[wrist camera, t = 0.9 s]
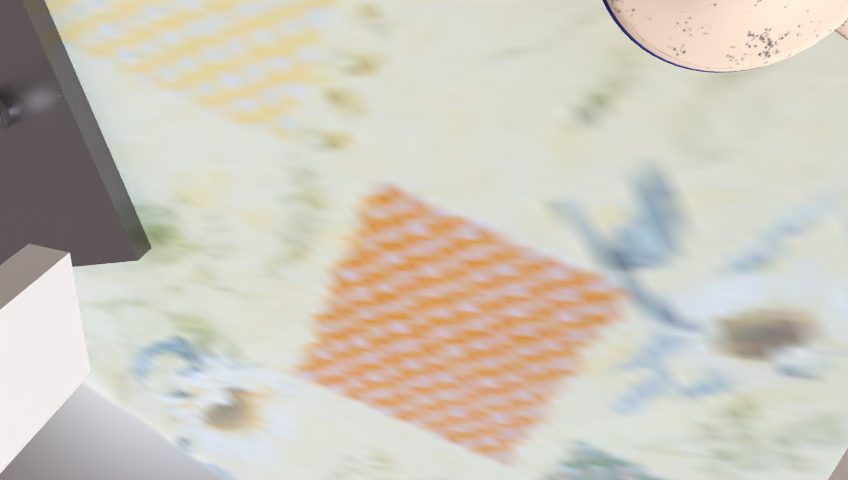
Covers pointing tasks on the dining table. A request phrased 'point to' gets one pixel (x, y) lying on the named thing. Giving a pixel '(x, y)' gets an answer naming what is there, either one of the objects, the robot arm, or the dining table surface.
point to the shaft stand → (55, 152)
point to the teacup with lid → (727, 29)
